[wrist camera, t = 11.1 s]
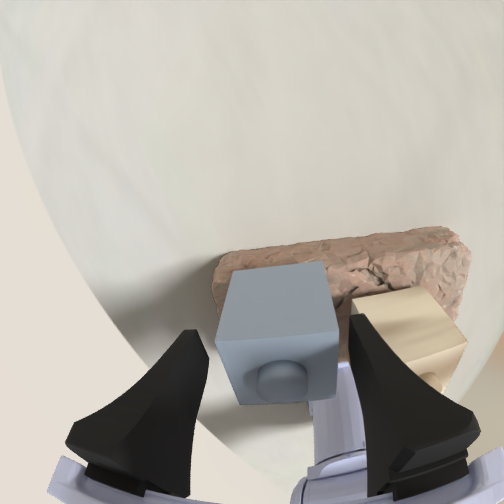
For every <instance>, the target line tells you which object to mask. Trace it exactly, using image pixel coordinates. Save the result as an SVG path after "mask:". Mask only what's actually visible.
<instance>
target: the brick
mask: <svg viewBox="0 0 504 504" xmlns="http://www.w3.org/2000/svg"><path fill="white" fill-rule="evenodd" d="M315 261H322V262H323V265H324V269H325V273H326V277H327V281H328V285H329V289H330V293H331V297H332V301H333V306H334V310H335V314H336V319H337V323H338V328H339V352H338V363H340V362H347V361H348V360H347V357H346V356H347V348H348V337H349V315H351V306H352V299H355V298H361V297H367V296H372V295H377V294H383V293H388V292H393V291H398V290H403V289H407V288H412V287H417V286H421V285H423V286H424V288H425V289H426V290H427V291H428V292H429V293H430V294H431V296H432V297H433V298H434V299H435V300H436V301H437V303H438V304H439V305H440V306H441V307H442V309H443V310H444V311H445V312H446V314H447V315H448V316H449V317H450V318H451V320H452V321H453V322H455V320H456V318H457V316H458V306H459V304H460V302H461V300H462V292H463V289H464V288H465V285H466V281H467V277H468V269H469V266H470V262H471V252H470V250H469V249H468V247H466V246H465V245H464V244H463V243H461V242H460V241H459V236H458V235H457V234H455V233H454V232H452V231H450V229H449V228H445V227H442V226H436V227H424V228H418V229H412V230H409V231H406V232H401V233H375V234H371V235H369V236H366V237H356V238H355V237H346V238H340V239H328V240H321V241H312V242H303V243H297V244H294V245H288V246H284V245H281V246H271V247H266V248H261V249H257V250H254V249H251V250H239V251H232V252H230V253H228V254H226V255H224V256H223V257H222V258H221V259H220V261H219V264H218V267H217V268H216V269H215V271H214V274H213V279H214V280H213V282H212V286H211V289H212V293H213V296H214V301H215V303H216V304H217V306H218V308H217V314H218V317H219V320H220V318H221V314H222V311H223V307H224V303H225V299H226V296H227V292H228V288H229V285H230V281H231V277H232V273H233V271H239V270H247V269H256V268H265V267H274V266H282V265H291V264H299V263H307V262H315Z"/></svg>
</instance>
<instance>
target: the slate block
mask: <svg viewBox="0 0 504 504" xmlns="http://www.w3.org/2000/svg"><path fill="white" fill-rule="evenodd" d="M214 342H215V344H216V347H217V350H218V352H219V355H220V357H221V360H222V363H223V365H224V368H225V370H226V373H227V375H228V378H229V380H230V383H231V385H232V387H233V390H234V392H235V395H236V397H237V399H238V402H239V404H240V405H259V404H287V403H295V402H307V401H317V400H325V399H333V398H336V389H337V374H338V352H339V328H338V323H337V319H336V314H335V310H334V306H333V301H332V297H331V293H330V289H329V285H328V281H327V277H326V273H325V269H324V265H323V262H322V261H315V262H307V263H299V264H291V265H282V266H274V267H265V268H256V269H247V270H239V271H233V273H232V277H231V281H230V285H229V288H228V292H227V296H226V299H225V303H224V307H223V311H222V314H221V318H220V322H219V326H218V329H217V333H216V337H215V341H214Z"/></svg>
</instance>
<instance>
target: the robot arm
mask: <svg viewBox="0 0 504 504" xmlns="http://www.w3.org/2000/svg"><path fill="white" fill-rule="evenodd" d="M348 351H349V358H350V364H351V368H350V365H349V363H348V361H347V362H340V363H338V374H337V389H336V398H333V399H325V400H317V401H309V414H310V416H313V426H314V462H315V466H312V467H308V476H306V477H303V478H302V479H301V480H300V481H299V482H298V484H297V485H296V487H295V488H294V490H293V493H292V496H291V501H290V504H497V503H499V502H500V501H502V500H503V499H504V451H503V449H502V446H499V447H497V448H495V449H494V450H492V451H490V452H488V453H486V454H484V455H482V456H480V457H478V458H477V459H475V460H474V461H472V462H471V463H470V464H469V465H468V466H467V462H466V457H468V452H467V448H468V447H469V446H470V445H471V444H472V443H473V442H474V441H475V440H476V439H477V438H478V436H479V435H480V432H481V430H480V427H479V424H478V421H477V419H476V417H475V415H474V414H473V412H472V411H470V410H469V409H467V408H465V407H463V406H461V405H459V404H457V403H455V402H453V401H452V400H450V399H449V398H447V397H446V396H444V395H442V394H441V393H440V392H438V391H437V390H436V389H434V388H433V387H431V386H430V385H429V384H427V383H426V382H425V381H424V380H423V379H421V378H420V377H419V376H418V375H417V374H416V373H414V372H413V371H412V370H411V369H410V368H409V367H408V366H407V365H406V364H405V363H404V362H403V361H402V360H401V359H400V358H399V357H398V356H397V355H396V353H395V352H394V351H393V350H392V349H391V348H390V347H389V345H388V344H387V343H386V342H385V341H384V339H383V338H382V337H381V336H380V334H379V333H378V332H377V330H376V329H375V328H374V326H373V325H372V324H371V322H370V321H369V319H368V318H367V316H366V315H365V314H364V313H361V314H354V315H349V337H348ZM208 366H209V357H208V355H207V352H206V350H205V348H204V346H203V343H202V341H201V339H200V336H199V334H198V332H197V329H194V330H184V331H183V332H182V333H181V334H180V335H179V337H178V338H177V339H176V340H175V341H174V343H173V344H172V345H171V346H170V347H169V349H168V350H167V351H166V352H165V353H164V354H163V356H162V357H161V358H160V359H159V360H158V361H157V362H156V363H155V365H154V366H153V367H152V368H151V369H150V370H149V371H148V372H147V373H146V374H145V375H144V376H143V377H142V378H141V379H140V380H139V381H138V382H137V383H136V384H134V385H133V386H132V387H131V388H130V389H129V390H127V391H126V392H125V393H124V394H122V395H121V396H120V397H118V398H117V399H115V400H114V401H113V402H112V403H110V404H108V405H107V406H105V407H104V408H102V409H100V410H98V411H97V412H95V413H93V414H91V415H89V416H87V417H85V418H83V419H81V420H79V421H76V422H74V424H73V426H72V428H71V430H70V433H69V435H68V437H67V439H66V441H65V444H66V446H67V447H68V448H69V449H70V450H72V451H73V452H74V453H76V454H77V455H78V456H80V457H81V458H83V459H84V460H85V461H87V462H88V466H87V468H86V467H85V466H83V465H81V464H80V463H78V462H76V461H74V460H71V459H69V458H67V457H65V456H61V457H60V460H59V462H58V464H57V467H56V469H55V472H54V474H53V477H52V479H51V482H50V484H49V487H48V490H47V492H48V493H49V494H51V495H52V496H54V497H55V498H57V499H59V500H60V501H62V502H64V503H65V504H218V503H211V502H204V501H197V500H191V499H185V498H186V497H188V496H189V495H190V470H191V455H192V444H193V436H194V429H195V423H196V418H197V414H198V410H199V407H200V403H201V399H202V395H203V392H204V388H205V384H206V380H207V374H208ZM351 370H352V371H351Z"/></svg>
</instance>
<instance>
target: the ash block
mask: <svg viewBox="0 0 504 504" xmlns="http://www.w3.org/2000/svg"><path fill="white" fill-rule="evenodd" d="M361 313H364V314H365V315H366V316H367V318H368V319H369V321H370V322H371V324H372V325H373V326H374V328H375V329H376V330H377V332H378V333H379V334H380V336H381V337H382V338H383V339H384V341H385V342H386V343H387V344H388V345H389V347H390V348H391V349H392V350H393V351H394V352H395V353H396V355H397V356H398V357H399V358H400V359H401V360H402V361H403V362H404V363H405V364H406V365H407V366H408V367H409V368H410V369H411V370H412V371H413V372H414V373H416V374H417V375H418V376H419V377H420V378H421V379H423V380H424V381H425V382H426V383H427V384H429V385H430V386H431V387H433V388H434V389H436V390H437V391H438V392H440V393H441V394H443V392H444V390H445V388H446V387H447V385H448V383H449V381H450V379H451V377H452V375H453V373H454V371H455V369H456V367H457V365H458V363H459V361H460V359H461V357H462V355H463V352H464V350H465V348H466V346H467V343H468V340H467V339H466V338H465V336H464V335H463V334H462V332H461V331H460V330H459V329H458V327H457V326H456V325H455V323H454V322H453V321H452V320H451V318H450V317H449V316H448V315H447V314H446V312H445V311H444V310H443V309H442V307H441V306H440V305H439V304H438V303H437V301H436V300H435V299H434V298H433V297H432V296H431V294H430V293H429V292H428V291H427V290H426V289H425V288H424V286H423V285H421V286H417V287H412V288H407V289H403V290H398V291H393V292H388V293H383V294H377V295H372V296H367V297H361V298H355V299H352V306H351V315H354V314H361ZM346 357H347V360H348V363H349V365H350V368H351V364H350V358H349V351H348V348H347V356H346ZM351 371H352V370H351Z"/></svg>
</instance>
